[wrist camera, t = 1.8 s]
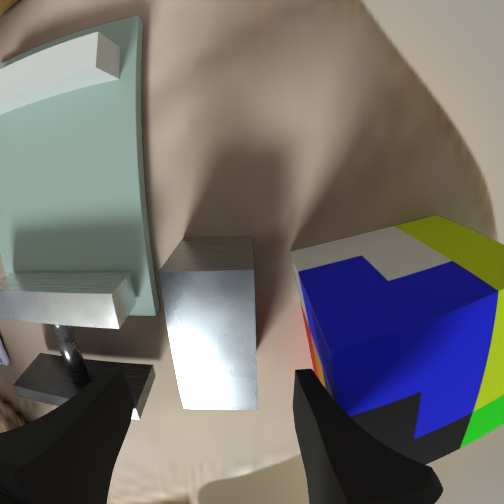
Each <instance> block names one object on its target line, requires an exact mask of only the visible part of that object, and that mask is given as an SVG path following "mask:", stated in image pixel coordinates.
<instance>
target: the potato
mask: <svg viewBox="0 0 504 504" xmlns="http://www.w3.org/2000/svg"><path fill="white" fill-rule="evenodd" d="M17 1H18V0H0V17H1V16H2V15H3V14H4V13H5V12H6V11H7V10H8V9H9V8H11V7H12V6H13V5H14V4H15V3H16V2H17Z"/></svg>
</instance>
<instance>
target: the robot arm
mask: <svg viewBox="0 0 504 504" xmlns="http://www.w3.org/2000/svg"><path fill="white" fill-rule="evenodd" d="M9 363H10V361H9V359H8V356H7V354H6V352H5V349H4V347H3V344H2V342H1V339H0V364H2V365H6V366H7V365H8V364H9ZM134 404H135V402H134V399H133V396H132V393H131V390H130V387H129V384H128V381H127V378H126V375H125V372H124V369H123V368H119V367H109V368H108V369H107V370H105V371H104V372H103V373H102V374H100V375H99V376H98V377H97V378H95V379H94V380H93V381H92V382H91V383H89V384H88V385H87V386H86V387H84V388H83V389H82V390H81V391H79V392H78V393H77V394H76V395H74V396H73V397H71V398H70V399H69V400H67V401H66V402H65V403H63V404H62V405H60V406H59V407H57V408H56V409H54V410H53V411H51V412H49V413H48V414H46V415H44V416H42V417H40V418H38V419H36V420H34V421H32V422H30V423H28V424H26V425H23V426H21V427H18V428H15V429H13V430H10V431H6V432H3V433H0V504H106V503H107V497H108V491H109V486H110V481H111V476H112V472H113V468H114V465H115V462H116V459H117V457H118V454H119V451H120V449H121V446H122V444H123V441H124V438H125V436H126V433H127V431H128V428H129V425H130V422H131V418H132V414H133V409H134ZM293 413H294V422H295V429H296V434H297V438H298V442H299V446H300V451H301V455H302V459H303V463H304V467H305V472H306V477H307V484H308V493H309V503H310V504H434V503H435V502H436V501H437V500H438V499H439V497H440V496H441V494H442V492H443V487H442V485H441V483H440V481H439V479H438V477H437V475H436V474H435V472H434V471H433V469H432V467H429V466H427V465H424V464H422V463H419V462H417V461H414V460H412V459H410V458H408V457H406V456H404V455H402V454H400V453H398V452H396V451H394V450H393V449H391V448H389V447H388V446H386V445H385V444H383V443H382V442H380V441H379V440H377V439H376V438H374V437H373V436H372V435H370V434H369V433H368V432H367V431H365V430H364V429H363V428H362V427H361V426H360V425H358V424H357V423H356V422H355V421H354V420H353V419H352V418H351V417H350V416H349V415H348V414H347V413H346V412H345V411H344V410H343V409H342V408H341V407H340V405H339V404H338V403H337V402H336V401H335V400H334V398H333V397H332V396H331V395H330V394H329V392H328V391H327V390H326V388H325V387H324V386H323V384H322V383H321V382H320V380H319V379H318V377H317V376H316V374H315V373H314V371H313V370H312V369H301V370H295V382H294V397H293Z"/></svg>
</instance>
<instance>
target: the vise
mask: <svg viewBox="0 0 504 504" xmlns="http://www.w3.org/2000/svg"><path fill="white" fill-rule="evenodd" d="M143 25H144V21H143V20H142V19H141V18H140V17H139V16H134V17H129V18H125V19H121V20H117V21H113V22H109V23H105V24H102V25H98V26H95V27H91V28H88V29H85V30H82V31H79V32H76V33H73V34H70V35H67V36H64V37H61V38H58V39H56V40H53V41H50V42H48V43H45V44H43V45H40V46H38V47H36V48H33V49H31V50H29V51H26V52H24V53H22V54H20V55H17V56H15V57H13V58H11V59H9V60H7V61H5V62H3V63H1V64H0V254H1V258H2V263H3V267H4V271H5V275H8V274H9V273H94V272H131V275H132V281H133V287H134V293H135V298H136V305H135V306H134V308H133V309H132V311H131V312H130V314H129V315H136V316H156V315H157V313H158V311H159V309H160V307H159V301H158V294H157V288H156V281H155V274H154V267H153V259H152V251H151V243H150V234H149V225H148V215H147V204H146V192H145V179H144V163H143V142H142V103H141V82H142V44H143Z"/></svg>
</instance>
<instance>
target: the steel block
mask: <svg viewBox="0 0 504 504" xmlns="http://www.w3.org/2000/svg"><path fill="white" fill-rule="evenodd" d="M159 279H160V286H161V293H162V299H163V306H164V312H165V318H166V324H167V330H168V335H169V341H170V346H171V351H172V356H173V362H174V366H175V371H176V376H177V381H178V385H179V390H180V394H181V399H182V403H183V407H184V409H214V410H240V409H258V397H257V360H256V324H255V288H254V261H253V243H252V236H236V237H207V238H183V239H182V240H181V242H180V243H179V244H178V246H177V247H176V248H175V250H174V251H173V253H172V254H171V255H170V257H169V258H168V260H167V261H166V262H165V264H164V265H163V267H162V268H161V269H160V271H159Z"/></svg>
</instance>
